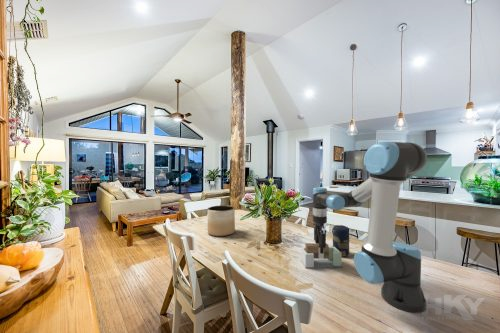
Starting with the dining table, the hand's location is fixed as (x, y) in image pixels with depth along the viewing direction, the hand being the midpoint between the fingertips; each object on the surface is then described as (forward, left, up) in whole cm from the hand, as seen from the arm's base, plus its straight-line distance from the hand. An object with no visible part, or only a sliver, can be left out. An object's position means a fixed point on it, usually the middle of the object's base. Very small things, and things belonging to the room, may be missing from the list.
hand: (319, 256), depth 122 cm
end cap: (0, -8, -3) cm, 9 cm away
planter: (+57, +60, -4) cm, 83 cm away
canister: (+12, -18, -4) cm, 22 cm away
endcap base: (0, -1, -4) cm, 4 cm away
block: (0, +1, 0) cm, 1 cm away
